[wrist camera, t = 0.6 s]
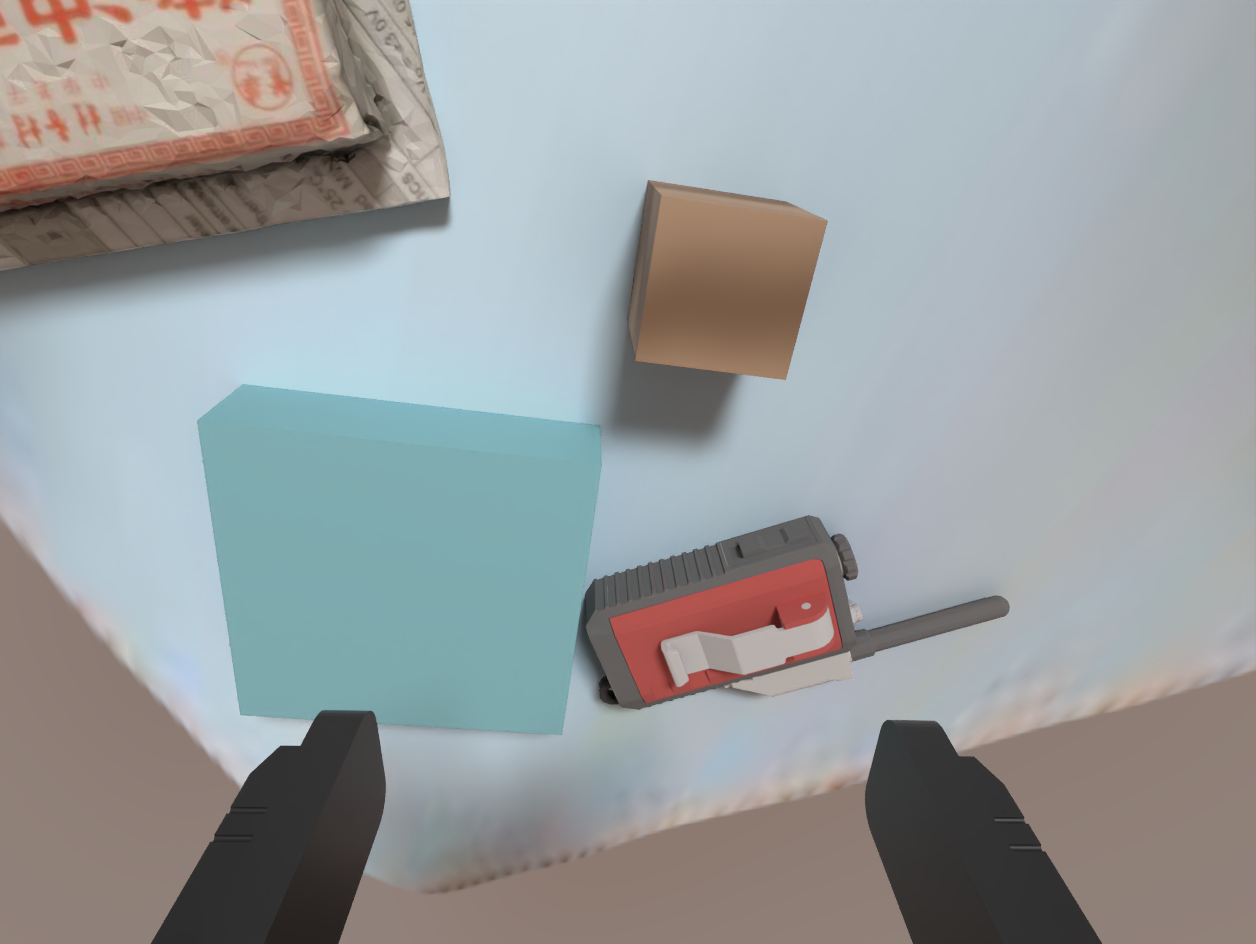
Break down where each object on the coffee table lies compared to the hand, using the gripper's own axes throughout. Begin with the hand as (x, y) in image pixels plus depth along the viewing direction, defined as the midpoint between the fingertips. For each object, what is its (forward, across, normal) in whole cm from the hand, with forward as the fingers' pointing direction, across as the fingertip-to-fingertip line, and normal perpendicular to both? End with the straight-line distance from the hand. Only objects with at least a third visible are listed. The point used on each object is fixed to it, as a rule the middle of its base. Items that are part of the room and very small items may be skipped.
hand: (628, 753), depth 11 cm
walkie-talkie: (+20, -8, +10) cm, 24 cm away
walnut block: (+18, -3, -5) cm, 19 cm away
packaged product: (+18, +16, -10) cm, 26 cm away
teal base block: (+19, +8, +8) cm, 22 cm away
